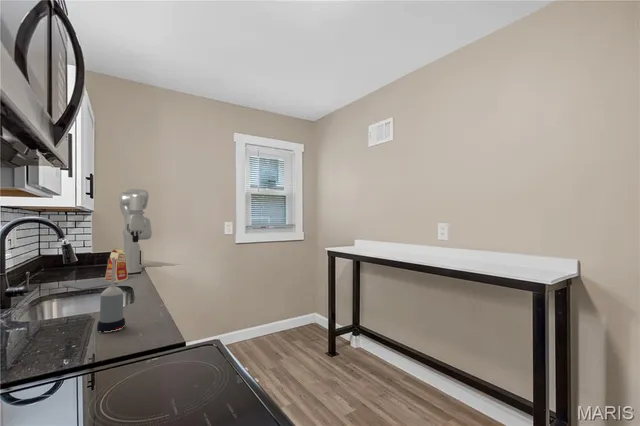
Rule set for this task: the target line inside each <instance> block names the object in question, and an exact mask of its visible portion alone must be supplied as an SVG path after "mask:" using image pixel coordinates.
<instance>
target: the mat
mask: <svg viewBox="0 0 640 426" xmlns="http://www.w3.org/2000/svg"><path fill="white" fill-rule="evenodd" d="M111 282H112V281H108V286H110V285H111ZM118 283H119V282H114V285H117V284H118ZM62 286H63V287H66V288H72V289H77V290H81V291H85V290H91V289H95V288H101V287H105V286H106V287H108V286H107V281H106V280H105V279H99V278H95V279H89V280H84V281H83V280H82V281H76V282H70V283H64V284H62Z"/></svg>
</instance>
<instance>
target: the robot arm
mask: <svg viewBox="0 0 640 426" xmlns="http://www.w3.org/2000/svg"><path fill="white" fill-rule="evenodd" d="M149 197H150V195H149V192H148V191H147V190H146V189H141V188H140V189H139V188H138V189H137V188H135V189H134V188H129V189H128V190H127V191H125V192H121V193H120V194H119V210H120V212H121V214H122V215H123V219H124V226H125V227H124V228H123V230H122V236H123V252H124V253H125V255H126V261H127V270H128V274H131V273H133V274H134V273H140V272H142V271H143V269H142V268H147V265H146V264H140V261H141V260H140V257H141V253H140V252H141V246H140V243H139V241H142V240H150V239H151V238H152V236H153V235H152V234H153V232H152V231H153V230H152V226H151V224H152V223H151V221H150V219H149V217H146V216H144V215H145V211H144V210H146V209H147V206H148V201H149Z"/></svg>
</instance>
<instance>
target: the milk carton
mask: <svg viewBox="0 0 640 426" xmlns="http://www.w3.org/2000/svg"><path fill="white" fill-rule="evenodd" d="M110 252H111V253H110V255H109V257H108V261H107V267H106V272H105V276H104V280H106V281H107V276H108V281H112V275H111V270H112V261H113V257H115V270H114V274H115V282H117V283H119V282H123V281H124V282H125V281H127V280H129V275H128V274H129V273H128V270H127V261H126V255H125V253H124V248H117V247H113V250H112V251H110ZM107 272H108V273H107Z"/></svg>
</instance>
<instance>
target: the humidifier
mask: <svg viewBox="0 0 640 426" xmlns="http://www.w3.org/2000/svg"><path fill="white" fill-rule="evenodd" d="M114 270H115V257H113V261H112V270H111V275H112V282H111V285H108V276H107V286H106V287H107V288H105V289H104V290H103V291H102V292H101V294H100V303H99V305H100V306H99V320H98V322H97V325H96V326H97V327H96V328H97V329H96V331H101V332H104V331H111V330H116V329H119V328H122V327H123V326H124V325H125V326H126V319H125V317H124V291H123V289H121V288H120V287H118V286H116V284H114V282H115V274H114ZM107 273H108V272H107Z"/></svg>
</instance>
